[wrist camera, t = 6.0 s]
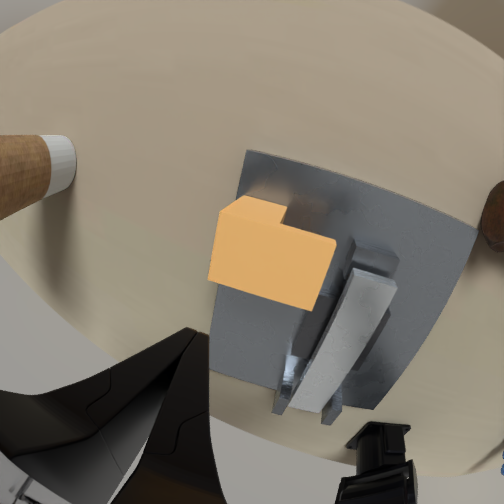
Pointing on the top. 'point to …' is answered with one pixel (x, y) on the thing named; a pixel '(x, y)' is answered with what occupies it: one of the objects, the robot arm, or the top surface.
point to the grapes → (503, 469)
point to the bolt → (494, 218)
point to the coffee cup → (33, 169)
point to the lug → (269, 254)
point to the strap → (343, 338)
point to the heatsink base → (340, 282)
